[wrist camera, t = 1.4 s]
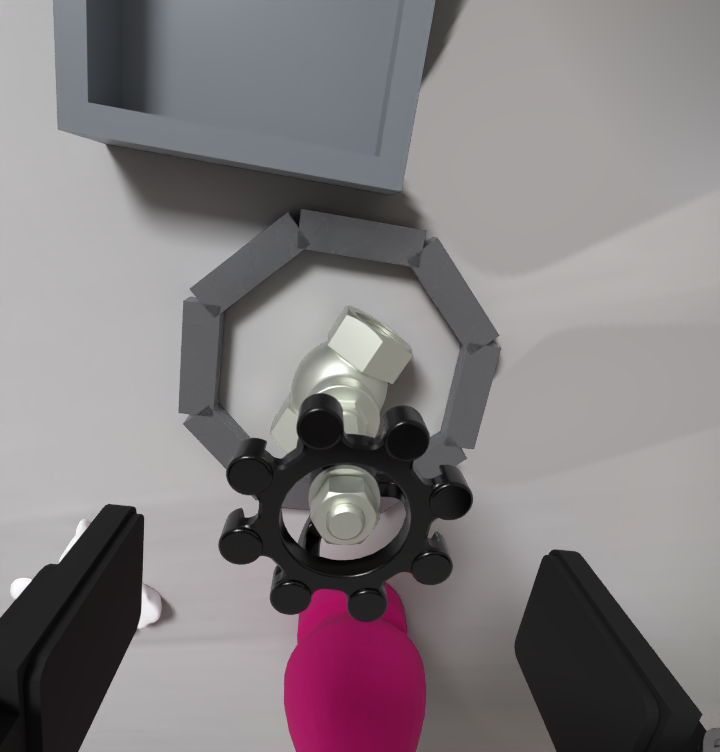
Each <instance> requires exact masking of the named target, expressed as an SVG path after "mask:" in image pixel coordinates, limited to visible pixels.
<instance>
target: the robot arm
mask: <svg viewBox="0 0 720 752" xmlns="http://www.w3.org/2000/svg"><path fill="white" fill-rule="evenodd" d="M143 541H144V516H143V515H142V514H137V513H136V508H135V507H132V506H122V505H112V504H108V505H106V506H105V507H104V508H103V509H102V510H101V511H100V513H99V514H98V515H97V516H96V518H95V519H94V520H93V521H92V523H91V524H90V525H89V526H88V528H87V529H86V530H85V531H84V532H83V534H82V535H81V536H80V537H79V539H78V540H77V541H76V542H75V544H74V545H73V546H72V547H71V549H70V550H69V551H68V552H67V554H66V555H65V556H64V557H63V559H62V560H61V561H60V562H59V564H49V565H46V566H45V567H44V568H43V569H41V570H40V571H39V573H38V574H37V575H36V576H35V577H34V578H33V580H32V581H31V582H30V583H29V584H28V586H27V587H26V588H25V589H24V590H23V592H22V593H21V594H20V595H19V596H18V598H17V599H16V600H15V601H14V602H13V603H12V605H11V606H10V607H9V608H8V609H7V611H6V612H5V613H4V614H3V615H2V617H1V618H0V752H78V751H79V749H80V747H81V745H82V743H83V740H84V738H85V736H86V734H87V732H88V730H89V728H90V726H91V724H92V722H93V720H94V717H95V715H96V713H97V711H98V709H99V707H100V705H101V703H102V701H103V699H104V697H105V694H106V692H107V690H108V688H109V686H110V684H111V682H112V680H113V678H114V676H115V674H116V671H117V669H118V667H119V665H120V663H121V661H122V659H123V657H124V655H125V653H126V651H127V648H128V646H129V644H130V642H131V640H132V638H133V636H134V634H135V632H136V629H137V627H138V624H139V621H140V616H141V606H142V573H143ZM515 654H516V658H517V660H518V663H519V665H520V667H521V670H522V672H523V674H524V677H525V679H526V681H527V684H528V686H529V688H530V691H531V693H532V695H533V697H534V700H535V702H536V704H537V707H538V709H539V711H540V714H541V716H542V718H543V721H544V723H545V725H546V728H547V730H548V732H549V735H550V737H551V739H552V742H553V744H554V746H555V749H556V751H557V752H720V728H712V729H710V730H709V731H706V730H705V728H704V727H703V725H702V724H701V723H700V721H699V720H700V718H701V716H702V713H701V712H700V711H699V709H698V708H697V707H696V705H695V704H694V703H693V701H692V700H691V699H690V697H689V696H688V695H687V693H686V692H685V691H684V689H683V688H682V687H681V686H680V684H679V683H678V682H677V680H676V679H675V678H674V676H673V675H672V674H671V672H670V671H669V670H668V668H667V667H666V666H665V665H664V663H663V662H662V661H661V659H660V658H659V657H658V655H657V654H656V653H655V651H654V650H653V649H652V647H651V646H650V645H649V644H648V642H647V641H646V640H645V638H644V637H643V636H642V634H641V633H640V632H639V630H638V629H637V628H636V626H635V625H634V624H633V623H632V621H631V620H630V619H629V617H628V616H627V615H626V613H625V612H624V611H623V609H622V608H621V607H620V605H619V604H618V603H617V601H616V600H615V599H614V598H613V596H612V595H611V594H610V592H609V591H608V590H607V588H606V587H605V586H604V584H603V583H602V582H601V580H600V579H599V578H598V577H597V575H596V574H595V573H594V571H593V570H592V569H591V567H590V566H589V565H588V563H587V562H586V561H585V559H584V558H583V557H582V556H581V555H580V554H579V553H578V552H575V551H565V550H552V551H551V552H550V553H549V555H545V556H544V557H543V559H542V561H541V564H540V567H539V570H538V573H537V576H536V579H535V582H534V585H533V588H532V591H531V594H530V597H529V600H528V603H527V606H526V609H525V612H524V615H523V618H522V621H521V624H520V627H519V630H518V633H517V637H516V640H515Z"/></svg>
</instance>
